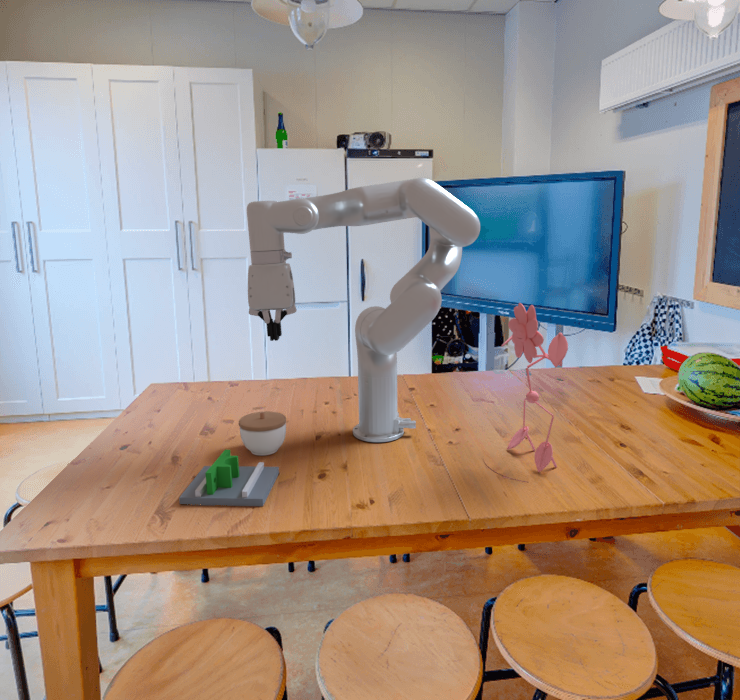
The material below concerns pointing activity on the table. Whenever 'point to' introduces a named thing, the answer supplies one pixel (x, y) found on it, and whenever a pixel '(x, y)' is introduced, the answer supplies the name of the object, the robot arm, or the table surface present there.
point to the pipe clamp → (222, 472)
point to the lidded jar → (263, 432)
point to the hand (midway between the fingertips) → (275, 339)
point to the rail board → (234, 488)
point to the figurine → (525, 343)
